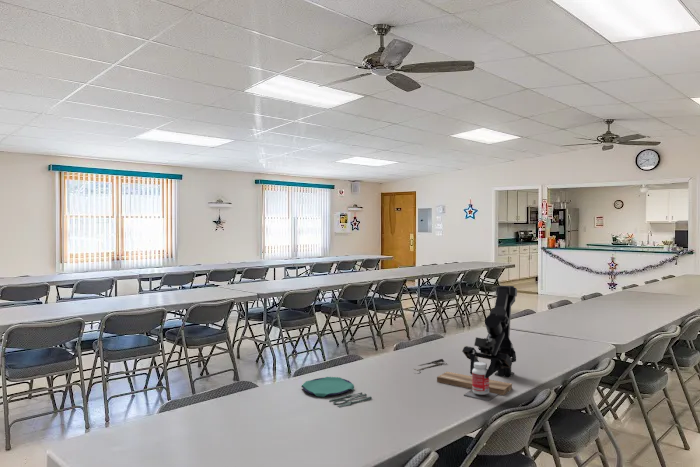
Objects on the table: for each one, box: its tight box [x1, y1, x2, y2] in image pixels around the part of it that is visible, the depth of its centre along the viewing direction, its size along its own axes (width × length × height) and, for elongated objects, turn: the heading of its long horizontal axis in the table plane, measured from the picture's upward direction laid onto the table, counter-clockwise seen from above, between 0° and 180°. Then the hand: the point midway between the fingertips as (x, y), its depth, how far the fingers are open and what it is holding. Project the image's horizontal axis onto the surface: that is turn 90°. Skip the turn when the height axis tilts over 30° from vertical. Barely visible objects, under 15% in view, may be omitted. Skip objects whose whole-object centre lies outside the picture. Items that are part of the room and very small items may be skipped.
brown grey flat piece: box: [436, 371, 513, 402], centre depth 191 cm, size 18×28×2 cm, turn 52°
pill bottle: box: [471, 361, 490, 395], centre depth 183 cm, size 6×6×11 cm
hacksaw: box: [413, 358, 448, 375], centre depth 221 cm, size 24×10×2 cm, turn 121°
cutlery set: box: [301, 376, 373, 408], centre depth 189 cm, size 20×30×2 cm, turn 32°
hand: (478, 375), depth 182 cm, fingers closed on pill bottle, 6 cm apart
